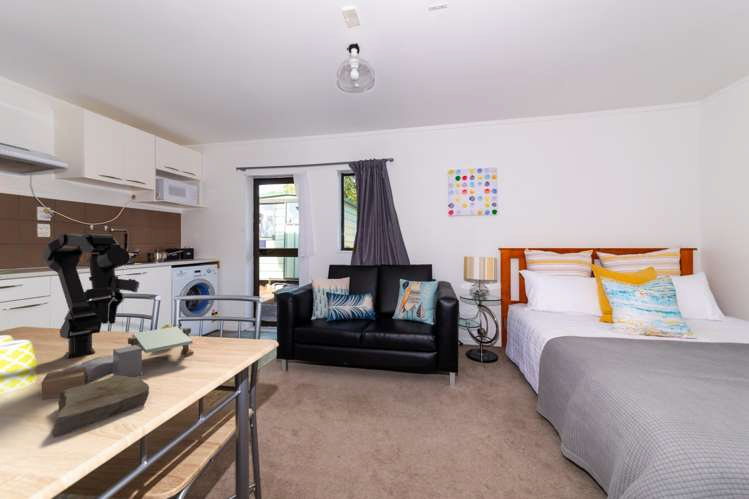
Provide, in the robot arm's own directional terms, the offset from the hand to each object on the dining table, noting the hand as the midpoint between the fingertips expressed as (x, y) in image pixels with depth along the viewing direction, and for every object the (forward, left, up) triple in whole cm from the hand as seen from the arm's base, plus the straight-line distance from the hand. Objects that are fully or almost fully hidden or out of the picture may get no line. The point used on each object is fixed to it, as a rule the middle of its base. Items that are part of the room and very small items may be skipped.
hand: (109, 323), depth 95 cm
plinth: (+16, -11, -12) cm, 22 cm away
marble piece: (+33, -7, -13) cm, 36 cm away
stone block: (+6, -4, -12) cm, 15 cm away
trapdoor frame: (+8, +11, -12) cm, 18 cm away
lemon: (-4, +16, -12) cm, 21 cm away
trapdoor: (+9, +11, -10) cm, 17 cm away
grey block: (+16, +1, -12) cm, 20 cm away
